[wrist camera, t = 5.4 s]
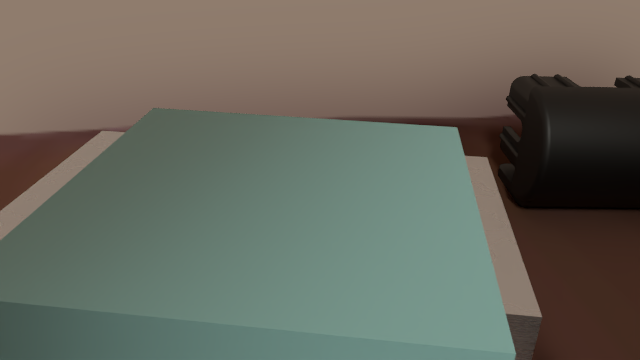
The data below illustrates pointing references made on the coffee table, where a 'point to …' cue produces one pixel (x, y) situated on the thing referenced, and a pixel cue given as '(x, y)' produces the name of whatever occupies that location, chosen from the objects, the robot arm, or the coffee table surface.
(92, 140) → the grey rectangular frame
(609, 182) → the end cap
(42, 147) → the coffee table surface
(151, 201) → the teal post
